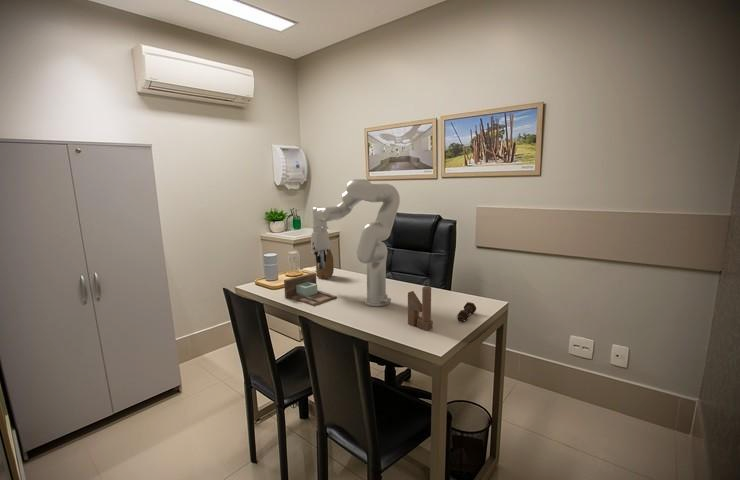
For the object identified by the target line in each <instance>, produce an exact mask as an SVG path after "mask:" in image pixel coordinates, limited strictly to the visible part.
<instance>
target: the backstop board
mask: <svg viewBox="0 0 740 480" xmlns="http://www.w3.org/2000/svg"><path fill="white" fill-rule="evenodd" d="M306 282H310V283H313V284H317V273H316V272H311V273H307V274H303V275H299V276H294V277H290V278H286V279H284V280H283V285H284V286H283V287H284V298H285V299H293V300H294V301H298V302H301V303H304V304H306V305H310V306H313V307H315V306H317V305H320V304H322V303H325V302H329V301H333V300H336V299H337V298H338V296H337V295H334V294H330V293H328V292H324V291H321V290H318V289H317V291H318V294H314V295H311V296H308V297H307V296H304V295H301V294H298V293H297V292H296V285H299V284H302V283H306Z"/></svg>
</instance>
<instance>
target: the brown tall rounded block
mask: <svg viewBox="0 0 740 480" xmlns="http://www.w3.org/2000/svg"><path fill="white" fill-rule="evenodd" d="M317 252H318V251H317ZM324 266H325V268H324V269H318V263H316V262H315V271H316V272H315V273H316V278H318V279H320V280H325V279H326V280H327V279H330V278H331V277H333V274H334V267H335V266H334V255H333V254H332V251H331V249H330V250H328V252H327V255H326V262H324Z"/></svg>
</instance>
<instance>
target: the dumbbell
mask: <svg viewBox="0 0 740 480" xmlns="http://www.w3.org/2000/svg"><path fill="white" fill-rule="evenodd" d="M476 310H477V307H476V304H475V303H474V302H471V301H470V302H468V301H467V302H466V303H465V305H464V306H463V309H461V310H460V311H459V313H458V314H457V316H456V317H457V318H456V320H457V321H458V322H459V323H463V322H465V321H464V320H466V321H468V319H469V317H470V315H471V314H470V313H473V314H474V313H476Z"/></svg>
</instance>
